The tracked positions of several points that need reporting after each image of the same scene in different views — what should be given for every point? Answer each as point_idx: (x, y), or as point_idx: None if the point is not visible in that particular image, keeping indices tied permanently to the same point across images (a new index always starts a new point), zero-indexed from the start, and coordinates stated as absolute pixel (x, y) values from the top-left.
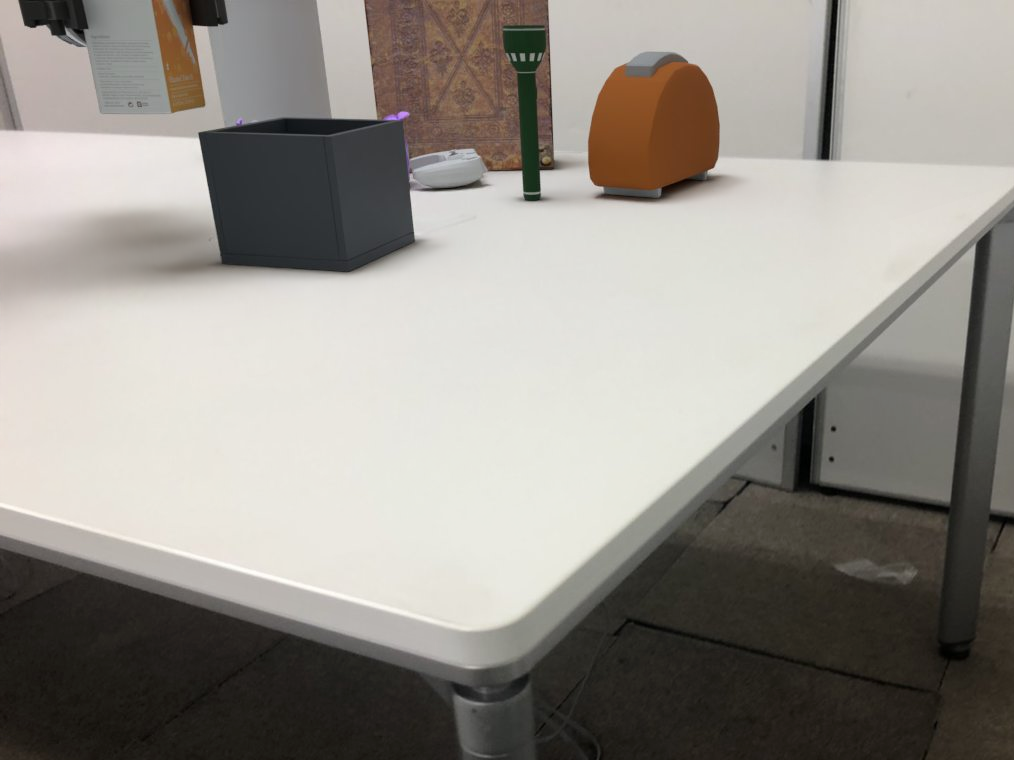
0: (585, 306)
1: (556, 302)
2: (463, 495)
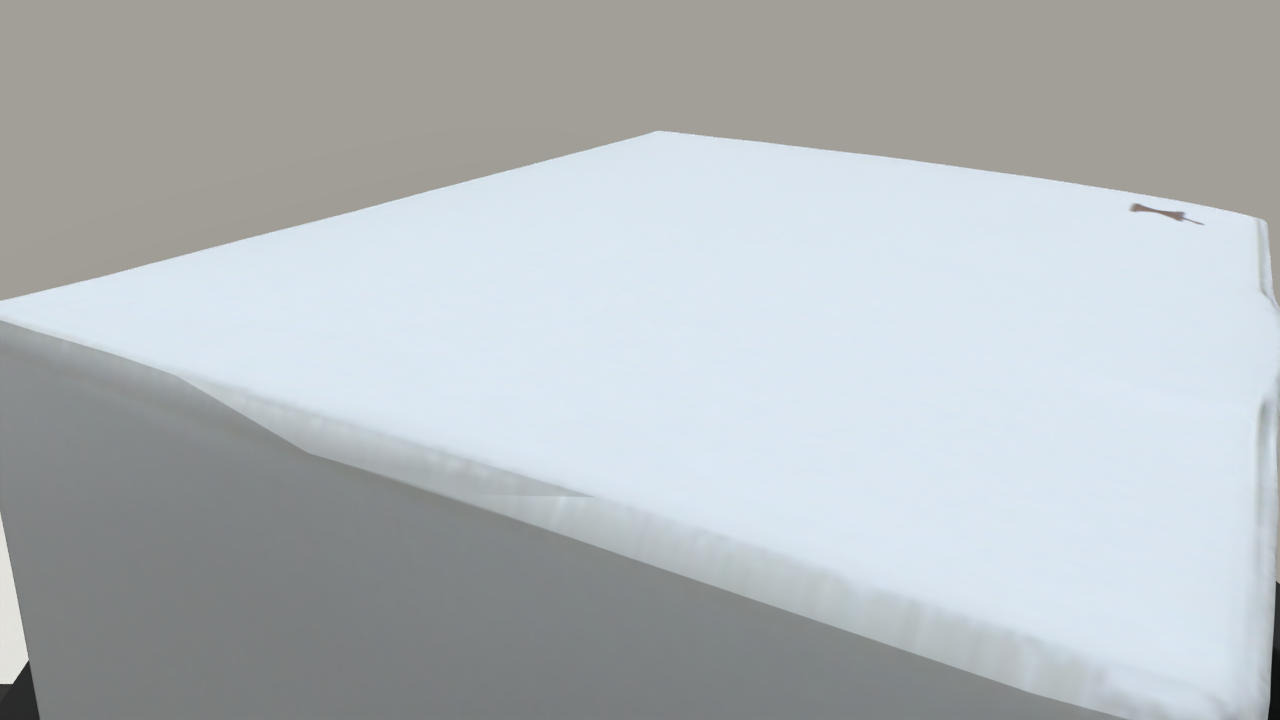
0: (4, 621)
1: (11, 656)
2: None
